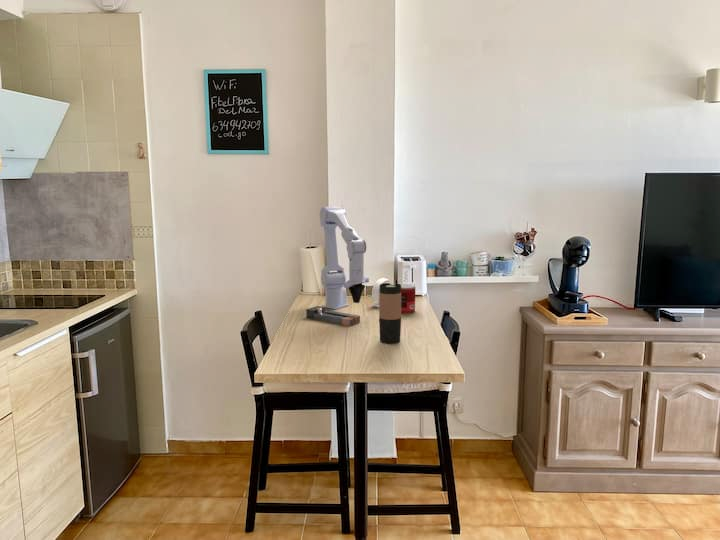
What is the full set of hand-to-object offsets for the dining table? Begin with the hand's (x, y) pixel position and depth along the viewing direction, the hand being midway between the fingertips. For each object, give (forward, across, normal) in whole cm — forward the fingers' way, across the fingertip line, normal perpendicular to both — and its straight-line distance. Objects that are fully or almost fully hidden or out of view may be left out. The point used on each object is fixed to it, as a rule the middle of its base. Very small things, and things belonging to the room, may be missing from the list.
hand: (356, 302), depth 226 cm
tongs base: (+7, -8, +6) cm, 12 cm away
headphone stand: (+7, +23, +4) cm, 24 cm away
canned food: (+7, +22, -10) cm, 25 cm away
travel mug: (+6, -18, -28) cm, 34 cm away
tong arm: (+6, -6, +3) cm, 9 cm away
